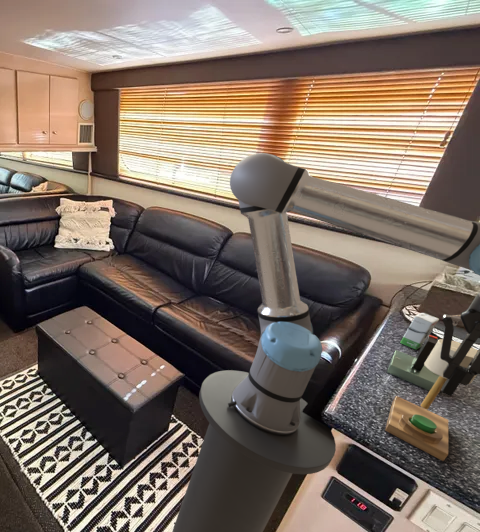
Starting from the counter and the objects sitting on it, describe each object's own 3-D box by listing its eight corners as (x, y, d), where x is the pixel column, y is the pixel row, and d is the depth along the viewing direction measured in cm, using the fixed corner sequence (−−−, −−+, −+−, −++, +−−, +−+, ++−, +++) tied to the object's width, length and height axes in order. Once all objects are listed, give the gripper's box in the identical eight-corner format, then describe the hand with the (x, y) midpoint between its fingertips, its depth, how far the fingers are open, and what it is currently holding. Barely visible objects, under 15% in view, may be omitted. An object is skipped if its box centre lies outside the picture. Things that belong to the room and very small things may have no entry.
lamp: (414, 413, 78) (453, 353, 72) (396, 391, 86) (430, 335, 79) (455, 424, 76) (499, 363, 70) (432, 401, 83) (470, 344, 77)
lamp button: (432, 436, 72) (436, 431, 72) (409, 424, 75) (412, 419, 74) (433, 428, 75) (437, 422, 74) (410, 417, 78) (413, 411, 77)
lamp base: (443, 461, 71) (452, 448, 69) (384, 430, 77) (392, 418, 76) (444, 426, 81) (452, 414, 79) (392, 401, 88) (399, 390, 86)
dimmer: (435, 393, 93) (441, 385, 92) (386, 372, 101) (391, 364, 99) (436, 375, 102) (441, 367, 101) (391, 356, 110) (396, 349, 108)
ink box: (416, 350, 115) (433, 322, 111) (399, 343, 119) (414, 315, 115) (424, 345, 120) (440, 318, 116) (406, 338, 124) (422, 311, 119)
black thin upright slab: (420, 371, 98) (437, 343, 94) (411, 367, 99) (428, 340, 95) (421, 364, 101) (438, 337, 98) (413, 360, 103) (429, 334, 99)
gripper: (559, 307, 60) (489, 402, 69) (459, 282, 69) (408, 369, 78) (568, 318, 56) (492, 419, 64) (459, 289, 64) (405, 381, 73)
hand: (446, 391), depth 71 cm, fingers closed
